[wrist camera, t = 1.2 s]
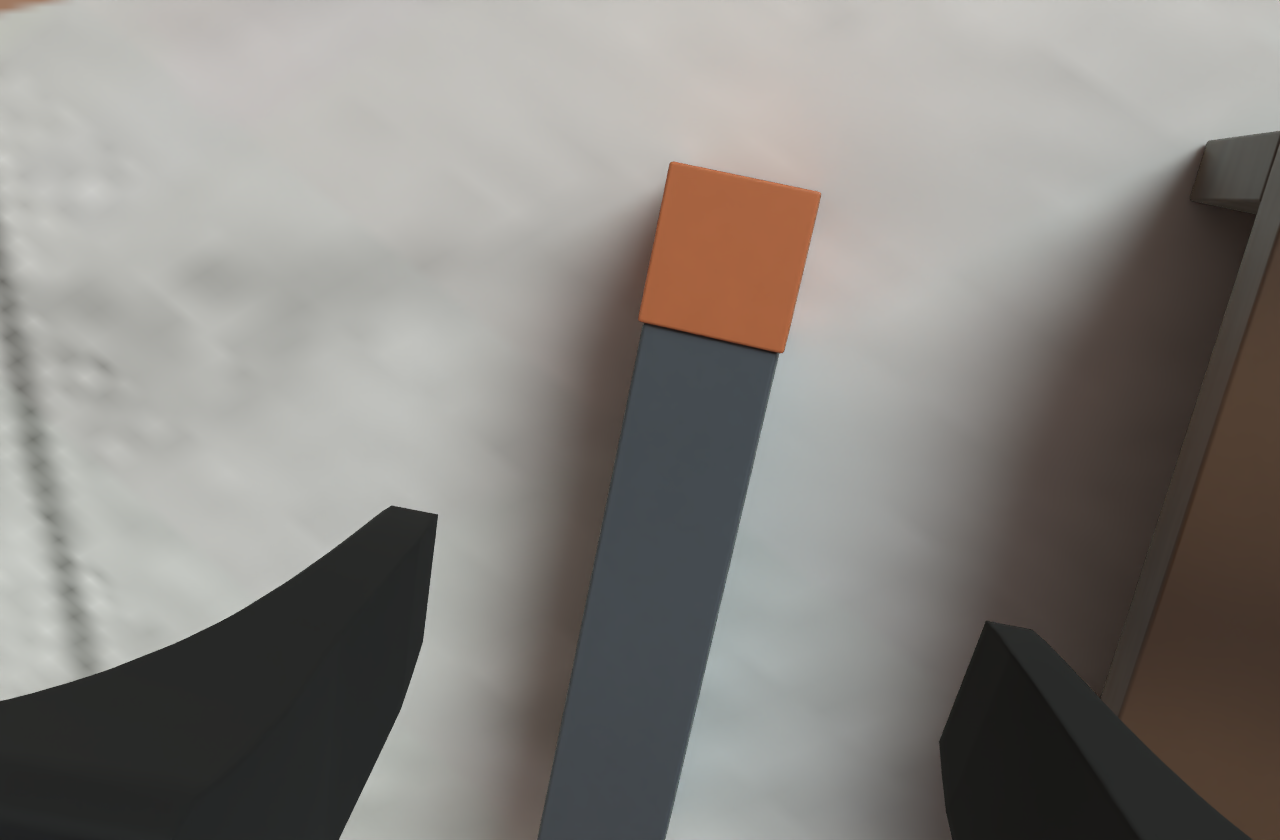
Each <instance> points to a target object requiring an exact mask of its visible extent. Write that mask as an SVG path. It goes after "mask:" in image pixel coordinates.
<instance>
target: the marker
mask: <svg viewBox="0 0 1280 840" xmlns="http://www.w3.org/2000/svg"><path fill="white" fill-rule="evenodd" d="M820 199H821V193H820V192H817V191H812V190H807V189H802V188H798V187H793V186H788V185H783V184H778V183H774V182H769V181H764V180H759V179H754V178H750V177H745V176H740V175H735V174H730V173H726V172H721V171H716V170H711V169H706V168H702V167H697V166H692V165H687V164H683V163H678V162H671V163H670V164H669V169H668V174H667V179H666V184H665V188H664V193H663V198H662V203H661V208H660V213H659V218H658V223H657V228H656V233H655V238H654V242H653V247H652V252H651V257H650V262H649V267H648V272H647V277H646V282H645V287H644V292H643V296H642V301H641V306H640V311H639V316H638V320H639V321H640V322H644V325H643V327H642V332H641V337H640V342H639V346H638V351H637V356H636V361H635V366H634V371H633V376H632V381H631V385H630V390H629V395H628V400H627V405H626V410H625V415H624V420H623V424H622V429H621V434H620V439H619V444H618V449H617V454H616V459H615V463H614V468H613V473H612V478H611V483H610V488H609V493H608V498H607V502H606V507H605V512H604V517H603V522H602V527H601V532H600V537H599V541H598V546H597V551H596V556H595V561H594V566H593V571H592V576H591V580H590V585H589V590H588V595H587V600H586V605H585V610H584V615H583V619H582V624H581V629H580V634H579V639H578V644H577V649H576V654H575V658H574V663H573V668H572V673H571V678H570V683H569V688H568V693H567V697H566V702H565V707H564V712H563V717H562V722H561V727H560V732H559V736H558V741H557V746H556V751H555V756H554V761H553V766H552V771H551V775H550V780H549V785H548V790H547V795H546V800H545V805H544V810H543V814H542V819H541V824H540V829H539V834H538V839H537V840H665V838H666V834H667V830H668V826H669V822H670V818H671V813H672V809H673V805H674V801H675V796H676V792H677V788H678V783H679V779H680V775H681V771H682V766H683V762H684V758H685V754H686V749H687V745H688V741H689V737H690V732H691V728H692V724H693V719H694V715H695V711H696V707H697V702H698V698H699V694H700V690H701V685H702V681H703V677H704V673H705V668H706V664H707V660H708V655H709V651H710V647H711V643H712V638H713V634H714V630H715V626H716V621H717V617H718V613H719V608H720V604H721V600H722V596H723V591H724V587H725V583H726V579H727V574H728V570H729V566H730V562H731V557H732V553H733V549H734V544H735V540H736V536H737V532H738V527H739V523H740V519H741V515H742V510H743V506H744V502H745V498H746V493H747V489H748V485H749V480H750V476H751V472H752V468H753V463H754V459H755V455H756V451H757V446H758V442H759V438H760V433H761V429H762V425H763V421H764V416H765V412H766V408H767V404H768V399H769V395H770V391H771V387H772V382H773V378H774V374H775V369H776V365H777V361H778V357H779V353H783V352H784V350H785V346H786V342H787V338H788V334H789V330H790V326H791V322H792V318H793V313H794V309H795V305H796V301H797V296H798V292H799V288H800V284H801V279H802V275H803V271H804V267H805V262H806V258H807V254H808V250H809V245H810V241H811V237H812V233H813V228H814V224H815V220H816V216H817V211H818V207H819V203H820Z"/></svg>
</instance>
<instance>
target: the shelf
mask: <svg viewBox="0 0 1280 840" xmlns="http://www.w3.org/2000/svg"><path fill="white" fill-rule="evenodd" d="M1190 200H1191V201H1193V202H1198V203H1203V204H1208V205H1213V206H1218V207H1223V208H1228V209H1233V210H1238V211H1243V212H1248V213H1253V214H1257V215H1256V219H1255V222H1254V225H1253V228H1252V231H1251V234H1250V237H1249V240H1248V243H1247V246H1246V249H1245V253H1244V256H1243V259H1242V262H1241V265H1240V268H1239V271H1238V274H1237V277H1236V280H1235V284H1234V287H1233V290H1232V293H1231V296H1230V299H1229V302H1228V305H1227V308H1226V311H1225V315H1224V318H1223V321H1222V324H1221V327H1220V330H1219V333H1218V336H1217V339H1216V342H1215V345H1214V349H1213V352H1212V355H1211V358H1210V361H1209V364H1208V367H1207V370H1206V373H1205V376H1204V380H1203V383H1202V386H1201V389H1200V392H1199V395H1198V398H1197V401H1196V404H1195V407H1194V410H1193V414H1192V417H1191V420H1190V423H1189V426H1188V429H1187V432H1186V435H1185V438H1184V441H1183V445H1182V448H1181V451H1180V454H1179V457H1178V460H1177V463H1176V466H1175V469H1174V472H1173V475H1172V479H1171V482H1170V485H1169V488H1168V491H1167V494H1166V497H1165V500H1164V503H1163V506H1162V510H1161V513H1160V516H1159V519H1158V522H1157V525H1156V528H1155V531H1154V534H1153V537H1152V540H1151V544H1150V547H1149V550H1148V553H1147V556H1146V559H1145V562H1144V565H1143V568H1142V571H1141V575H1140V578H1139V581H1138V584H1137V587H1136V590H1135V593H1134V596H1133V599H1132V602H1131V605H1130V609H1129V612H1128V615H1127V618H1126V621H1125V624H1124V627H1123V630H1122V633H1121V636H1120V640H1119V643H1118V646H1117V649H1116V652H1115V655H1114V658H1113V661H1112V664H1111V667H1110V670H1109V674H1108V677H1107V680H1106V683H1105V686H1104V689H1103V692H1102V695H1101V698H1100V699H1101V700H1102V701H1103V702H1104V703H1105V704H1106V705H1107V706H1108V707H1109V708H1110V709H1111V710H1112V711H1113V713H1114V714H1115V715H1116V716H1117V717H1118V718H1119V719H1120V720H1121V721H1122V722H1123V723H1124V724H1125V725H1126V726H1127V727H1128V728H1129V729H1130V730H1131V731H1132V732H1133V733H1134V734H1135V735H1136V736H1137V737H1138V738H1139V739H1140V740H1141V741H1142V742H1143V743H1144V744H1145V745H1146V746H1147V747H1148V748H1149V749H1150V750H1151V751H1152V752H1153V753H1154V754H1155V755H1156V756H1157V757H1158V758H1159V759H1160V760H1162V761H1163V762H1164V763H1165V764H1166V765H1167V766H1168V767H1169V768H1170V769H1171V770H1172V771H1173V772H1174V773H1176V774H1177V775H1178V776H1179V777H1180V778H1181V779H1182V780H1183V781H1184V782H1185V783H1186V784H1187V785H1189V786H1190V787H1191V788H1192V789H1193V790H1194V791H1195V792H1196V793H1197V794H1198V795H1199V796H1201V797H1202V798H1203V799H1204V800H1205V801H1206V802H1207V803H1209V804H1210V805H1211V806H1212V807H1213V808H1214V809H1216V810H1217V811H1218V812H1219V813H1220V814H1221V815H1223V816H1224V817H1225V818H1226V819H1228V820H1229V821H1230V822H1231V823H1233V824H1234V825H1235V826H1236V827H1237V828H1239V829H1240V830H1241V831H1242V832H1244V833H1245V834H1246V835H1247V836H1249V837H1250V838H1251V839H1252V840H1280V131H1276V132H1269V133H1261V134H1254V135H1247V136H1240V137H1232V138H1225V139H1218V140H1211V141H1208V142H1207V144H1206V148H1205V151H1204V154H1203V157H1202V161H1201V164H1200V167H1199V170H1198V174H1197V177H1196V180H1195V183H1194V187H1193V190H1192V193H1191V196H1190Z"/></svg>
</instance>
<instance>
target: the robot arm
mask: <svg viewBox="0 0 1280 840" xmlns="http://www.w3.org/2000/svg"><path fill="white" fill-rule="evenodd" d="M437 519H438V515H437V514H432V513H427V512H422V511H417V510H412V509H406V508H401V507H396V506H390V507H389V508H387V509H385V510H384V511H382V512H381V513H380V514H378V515H377V516H376V517H374V518H373V519H372V520H370V521H369V522H368V523H367V524H365V525H364V526H363V527H362V528H360V529H359V530H358V531H356V532H355V533H354V534H353V535H351V536H350V537H349V538H347V539H346V540H345V541H343V542H342V543H341V544H339V545H338V546H337V547H335V548H334V549H333V550H331V551H330V552H329V553H327V554H326V555H324V556H323V557H322V558H320V559H319V560H317V561H316V562H315V563H313V564H312V565H310V566H309V567H307V568H306V569H305V570H303V571H302V572H300V573H299V574H298V575H296V576H295V577H293V578H292V579H290V580H289V581H287V582H286V583H284V584H283V585H281V586H279V587H278V588H276V589H275V590H273V591H271V592H270V593H268V594H267V595H265V596H263V597H262V598H260V599H259V600H257V601H255V602H254V603H252V604H250V605H249V606H247V607H246V608H244V609H242V610H241V611H239V612H237V613H235V614H234V615H232V616H230V617H228V618H226V619H224V620H223V621H221V622H219V623H217V624H215V625H213V626H211V627H209V628H207V629H204V630H202V631H200V632H198V633H196V634H194V635H192V636H190V637H188V638H186V639H184V640H182V641H179V642H177V643H175V644H173V645H170V646H168V647H165V648H163V649H160V650H158V651H155V652H152V653H150V654H147V655H145V656H142V657H140V658H137V659H135V660H132V661H130V662H127V663H125V664H122V665H120V666H117V667H115V668H112V669H109V670H106V671H103V672H101V673H98V674H94V675H91V676H88V677H85V678H82V679H79V680H76V681H73V682H70V683H66V684H63V685H59V686H56V687H53V688H49V689H46V690H42V691H39V692H35V693H32V694H28V695H24V696H20V697H16V698H12V699H8V700H3V701H0V840H339V838H340V836H341V834H342V832H343V830H344V828H345V825H346V823H347V821H348V819H349V817H350V815H351V813H352V811H353V809H354V807H355V805H356V802H357V800H358V798H359V796H360V794H361V792H362V790H363V788H364V786H365V784H366V782H367V779H368V777H369V775H370V773H371V771H372V769H373V767H374V765H375V763H376V761H377V759H378V756H379V754H380V752H381V750H382V748H383V746H384V744H385V742H386V740H387V737H388V735H389V733H390V731H391V729H392V727H393V725H394V723H395V720H396V718H397V716H398V714H399V712H400V710H401V707H402V704H403V701H404V698H405V695H406V692H407V689H408V686H409V683H410V680H411V677H412V674H413V671H414V668H415V665H416V662H417V659H418V656H419V652H420V649H421V646H422V643H423V636H424V628H425V619H426V611H427V603H428V594H429V586H430V578H431V569H432V561H433V552H434V544H435V536H436V527H437ZM939 745H940V757H941V769H942V781H943V789H944V798H945V806H946V814H947V818H948V822H949V827H950V831H951V835H952V839H953V840H1252V839H1251V838H1250V837H1249V836H1247V835H1246V834H1245V833H1244V832H1242V831H1241V830H1240V829H1239V828H1237V827H1236V826H1235V825H1234V824H1233V823H1231V822H1230V821H1229V820H1228V819H1226V818H1225V817H1224V816H1223V815H1221V814H1220V813H1219V812H1218V811H1217V810H1216V809H1214V808H1213V807H1212V806H1211V805H1210V804H1209V803H1207V802H1206V801H1205V800H1204V799H1203V798H1202V797H1201V796H1199V795H1198V794H1197V793H1196V792H1195V791H1194V790H1193V789H1192V788H1191V787H1190V786H1189V785H1187V784H1186V783H1185V782H1184V781H1183V780H1182V779H1181V778H1180V777H1179V776H1178V775H1177V774H1176V773H1174V772H1173V771H1172V770H1171V769H1170V768H1169V767H1168V766H1167V765H1166V764H1165V763H1164V762H1163V761H1162V760H1160V759H1159V758H1158V757H1157V756H1156V755H1155V754H1154V753H1153V752H1152V751H1151V750H1150V749H1149V748H1148V747H1147V746H1146V745H1145V744H1144V743H1143V742H1142V741H1141V740H1140V739H1139V738H1138V737H1137V736H1136V735H1135V734H1134V733H1133V732H1132V731H1131V730H1130V729H1129V728H1128V727H1127V726H1126V725H1125V724H1124V723H1123V722H1122V721H1121V720H1120V719H1119V718H1118V717H1117V716H1116V715H1115V714H1114V713H1113V711H1112V710H1111V709H1110V708H1109V707H1108V706H1107V705H1106V704H1105V703H1104V702H1103V701H1102V700H1101V699H1100V698H1099V697H1098V696H1097V695H1096V694H1095V693H1094V692H1093V691H1092V689H1091V688H1090V687H1089V686H1088V685H1087V684H1086V683H1085V682H1084V681H1083V680H1082V679H1081V678H1080V677H1079V676H1078V675H1077V674H1076V673H1075V672H1074V670H1073V669H1072V668H1071V667H1070V666H1069V665H1068V664H1067V663H1066V662H1065V661H1064V660H1063V659H1062V658H1061V657H1060V656H1059V655H1058V654H1057V653H1056V652H1055V651H1054V650H1053V649H1052V648H1051V647H1050V646H1049V645H1048V644H1047V643H1046V642H1045V641H1044V640H1043V639H1042V638H1041V637H1040V636H1039V635H1038V634H1036V633H1035V632H1034V631H1033V630H1031V629H1026V628H1021V627H1015V626H1010V625H1005V624H1000V623H995V622H990V621H986V622H985V625H984V627H983V630H982V633H981V635H980V638H979V640H978V643H977V645H976V648H975V651H974V653H973V656H972V658H971V661H970V663H969V666H968V669H967V671H966V674H965V676H964V679H963V681H962V684H961V687H960V689H959V692H958V694H957V697H956V699H955V702H954V705H953V707H952V710H951V712H950V715H949V717H948V720H947V723H946V725H945V728H944V730H943V733H942V735H941V738H940V741H939Z"/></svg>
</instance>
